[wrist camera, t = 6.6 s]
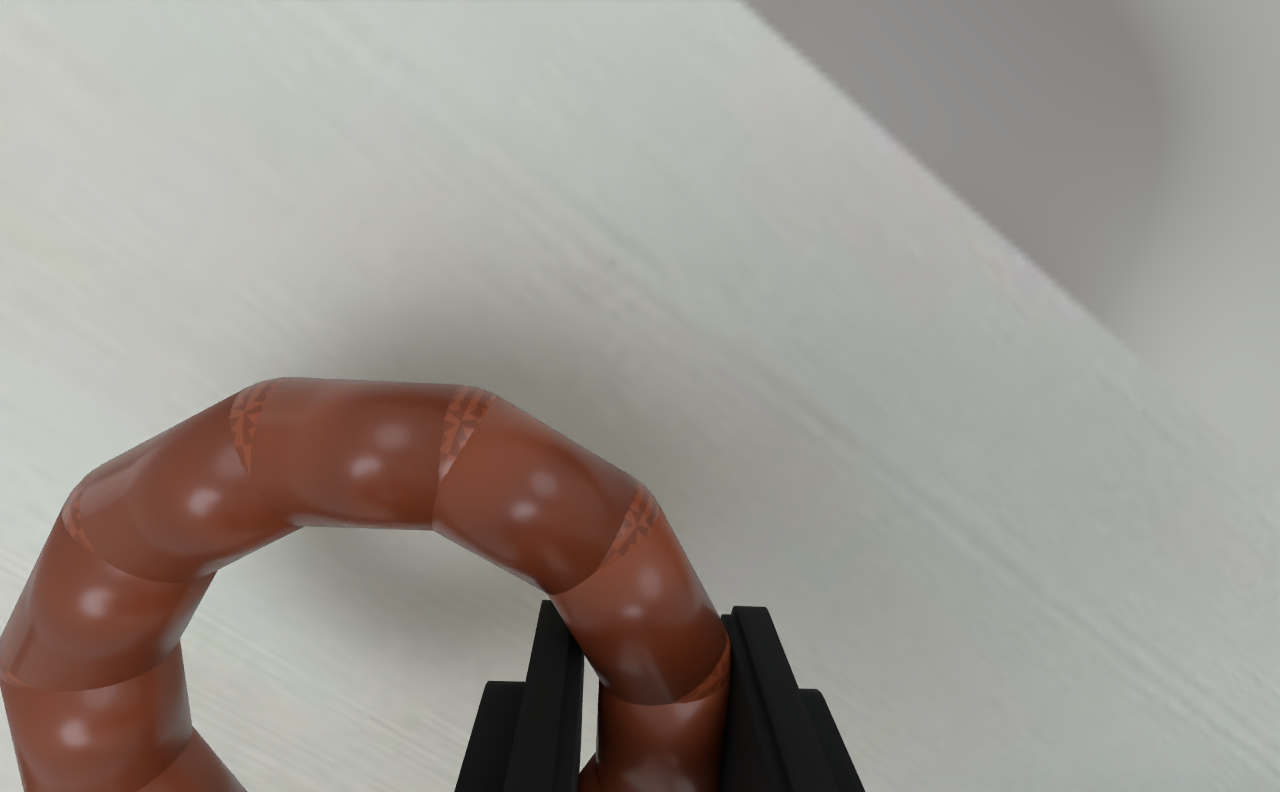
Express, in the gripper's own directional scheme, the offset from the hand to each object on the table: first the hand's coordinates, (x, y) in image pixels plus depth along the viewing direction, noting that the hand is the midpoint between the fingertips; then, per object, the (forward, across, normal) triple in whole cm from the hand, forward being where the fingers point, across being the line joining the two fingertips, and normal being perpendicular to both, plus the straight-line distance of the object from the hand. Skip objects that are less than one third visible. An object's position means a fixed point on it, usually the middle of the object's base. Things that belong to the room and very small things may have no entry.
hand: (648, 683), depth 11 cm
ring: (-1, +4, 0) cm, 4 cm away
